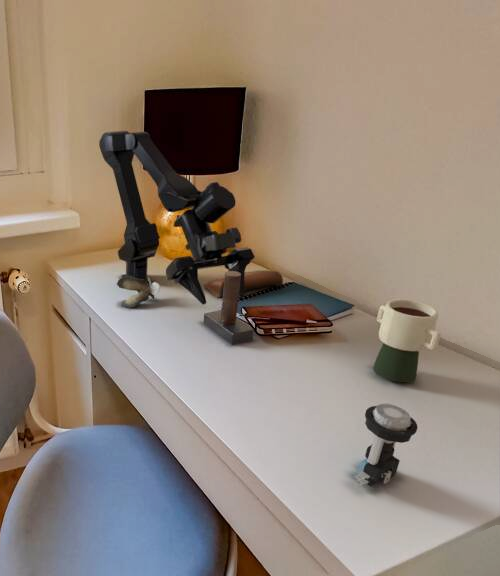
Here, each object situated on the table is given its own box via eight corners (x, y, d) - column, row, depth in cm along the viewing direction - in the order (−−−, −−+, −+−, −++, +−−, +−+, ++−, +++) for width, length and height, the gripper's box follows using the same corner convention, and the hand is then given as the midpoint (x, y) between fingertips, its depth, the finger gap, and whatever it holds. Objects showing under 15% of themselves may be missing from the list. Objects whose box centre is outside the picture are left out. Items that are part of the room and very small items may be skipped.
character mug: (439, 390, 75) (462, 319, 70) (404, 397, 74) (425, 326, 69) (383, 356, 85) (400, 292, 80) (351, 362, 83) (366, 297, 78)
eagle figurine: (142, 286, 116) (111, 287, 112) (155, 268, 111) (123, 268, 107) (153, 311, 112) (122, 313, 108) (167, 294, 107) (135, 295, 103)
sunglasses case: (260, 274, 122) (271, 258, 117) (274, 295, 118) (286, 279, 113) (201, 284, 117) (211, 268, 112) (214, 307, 113) (224, 290, 108)
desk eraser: (203, 323, 99) (207, 267, 94) (222, 319, 101) (228, 263, 95) (231, 345, 90) (238, 284, 85) (252, 340, 92) (260, 280, 87)
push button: (375, 502, 55) (395, 437, 52) (335, 473, 60) (350, 410, 56) (408, 482, 58) (429, 418, 54) (367, 455, 63) (384, 394, 59)
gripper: (175, 220, 90) (202, 292, 85) (254, 210, 95) (284, 277, 90) (155, 246, 100) (178, 312, 95) (228, 236, 105) (253, 298, 100)
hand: (224, 300), depth 95 cm, fingers open, 9 cm apart
